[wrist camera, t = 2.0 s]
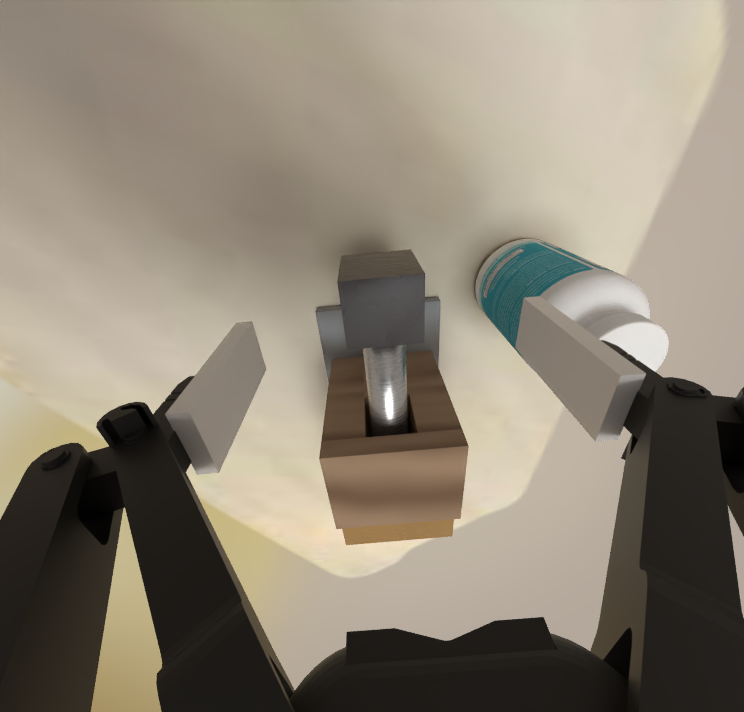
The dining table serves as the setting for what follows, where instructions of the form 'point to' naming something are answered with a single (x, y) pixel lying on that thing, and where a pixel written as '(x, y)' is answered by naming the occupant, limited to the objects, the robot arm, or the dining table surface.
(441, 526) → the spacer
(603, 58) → the dining table surface
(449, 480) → the bearing block
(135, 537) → the robot arm
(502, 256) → the pill bottle
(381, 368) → the shaft
